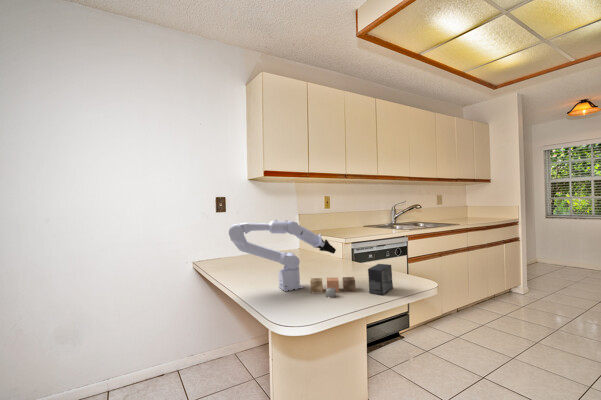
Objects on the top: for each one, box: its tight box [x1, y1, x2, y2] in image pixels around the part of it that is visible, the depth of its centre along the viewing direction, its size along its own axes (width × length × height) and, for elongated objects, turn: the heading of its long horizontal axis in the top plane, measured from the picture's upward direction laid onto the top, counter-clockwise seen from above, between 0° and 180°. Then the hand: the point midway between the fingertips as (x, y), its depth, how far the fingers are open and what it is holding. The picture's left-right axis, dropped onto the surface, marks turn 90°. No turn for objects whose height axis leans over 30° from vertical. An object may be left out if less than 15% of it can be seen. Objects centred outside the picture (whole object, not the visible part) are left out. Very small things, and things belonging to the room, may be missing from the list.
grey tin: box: [325, 287, 337, 299], centre depth 122 cm, size 4×4×3 cm
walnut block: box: [342, 276, 357, 293], centre depth 129 cm, size 5×5×5 cm
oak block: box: [309, 277, 324, 293], centre depth 130 cm, size 5×5×5 cm
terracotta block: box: [326, 277, 340, 293], centre depth 129 cm, size 5×5×5 cm
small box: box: [367, 263, 394, 296], centre depth 125 cm, size 11×6×10 cm, turn 141°
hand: (332, 250), depth 141 cm, fingers open, 7 cm apart
